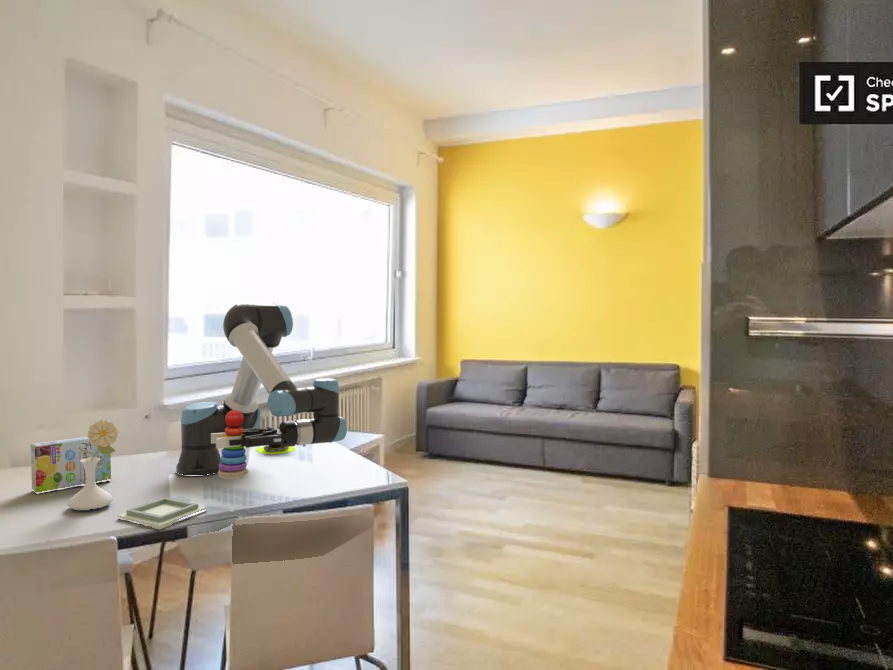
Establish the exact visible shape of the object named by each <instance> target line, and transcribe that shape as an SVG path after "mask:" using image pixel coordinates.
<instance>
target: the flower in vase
mask: <svg viewBox="0 0 893 670" xmlns="http://www.w3.org/2000/svg"><path fill="white" fill-rule="evenodd" d="M119 433H120V432H119V429H117V426H116V425H115V424H114V423H113V422H112V421H109V420H103V419H101V420H99V421H95V423H93V424H91V425H89V429H88V431H87V436H86V437H88V438H89V440H90V441H92V444H93V445H94V444H95V445H97V446H99V448H98V450H100V451H101V452H102V453H103V454H109V453H110V454H112V453H114V452H116V449H115V448H114V447H112V446H111V444H114V443H115V442H117V438H118V437H119V435H118V434H119ZM109 444H110V446H109ZM100 446H102V447H101V448H100ZM80 450H81V451H82V452H84V453H88V454H92V455H94V456H95V455H96V453H97V452H98V450H97V451H96V453H95V454H93V453H92V452H88V451H84V450H82V449H80ZM94 456H93V457H92V458H85V459H82V460H80V462H81V463H82V464H83V466H84V468H85V473H86V483H85V486H82V487H83V488H81V489H80V490H79V491H78V492H76V493H75V494H74V495H73V496H72V497H71V498H70V499H69V500H68V503H67V506H68V507H69V508H70V509H71V510H75V511H91V510H90V509H93V510H98V509H101V508H104V507H106V506H108V505H110V504H111V503H112V502H113V501H114V497H113V496H112V495H111V494H110V493H109V492H108V491H106V490H104V489H103V488H101V487H100V486H99V485H98V484H96V483H95V469H96V465H97V463H98V461H99V460H100V458H94ZM97 508H98V509H97Z"/></svg>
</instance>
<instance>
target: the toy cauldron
mask: <svg viewBox="0 0 893 670" xmlns="http://www.w3.org/2000/svg"><path fill="white" fill-rule="evenodd" d="M275 422H277V423H278V422H279V423H280V421H274V422H273V421H272V422H271V421H270V424H272V425H275V424H274V423H275ZM265 427H268V425H266V426H265ZM274 429H278V428H277V427H276V426H275V427H274ZM293 451H296V447H295V446H291V447H283V446H282V445H281V444H279V445H278V444H274V445H265V446H259V447H258V448H256V451H255V452H257V453H259V454H263V455H282V454H287V453H292V452H293Z"/></svg>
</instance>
